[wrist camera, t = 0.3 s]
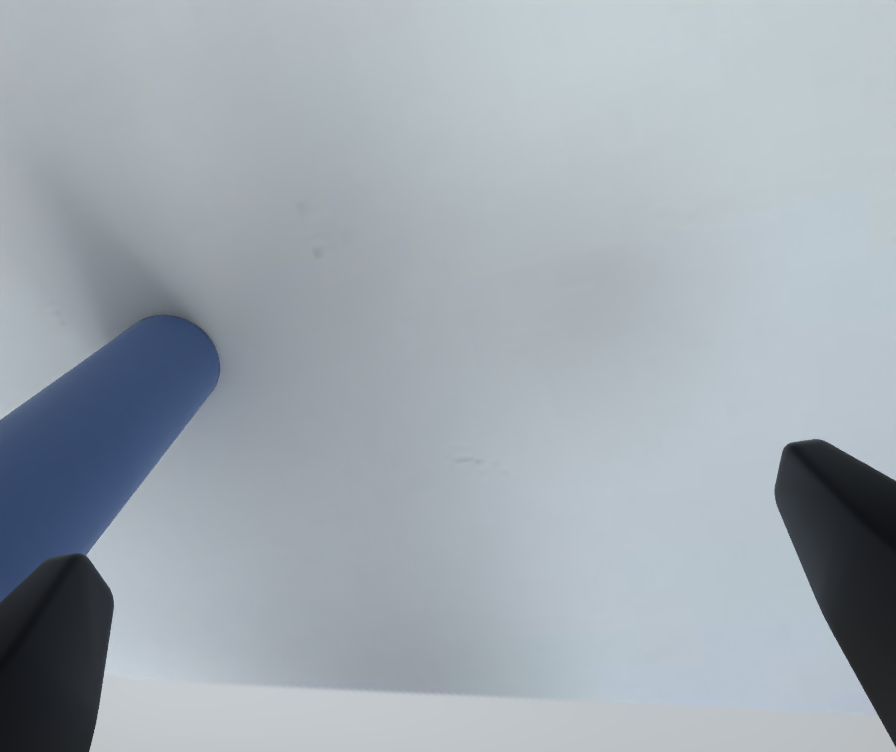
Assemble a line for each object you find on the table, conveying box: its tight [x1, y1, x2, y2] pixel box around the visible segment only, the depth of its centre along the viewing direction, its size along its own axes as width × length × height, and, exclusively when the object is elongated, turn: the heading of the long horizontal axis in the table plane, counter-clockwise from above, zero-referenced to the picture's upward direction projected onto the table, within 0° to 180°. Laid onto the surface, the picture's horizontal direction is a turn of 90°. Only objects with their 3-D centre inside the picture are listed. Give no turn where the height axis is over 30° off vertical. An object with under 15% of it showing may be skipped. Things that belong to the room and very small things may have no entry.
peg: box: [0, 316, 220, 602], centre depth 16 cm, size 3×3×14 cm
